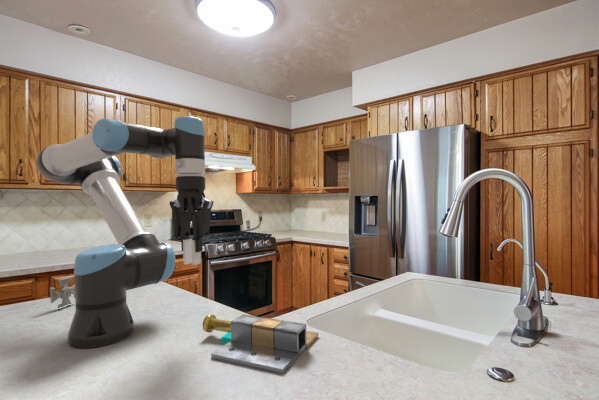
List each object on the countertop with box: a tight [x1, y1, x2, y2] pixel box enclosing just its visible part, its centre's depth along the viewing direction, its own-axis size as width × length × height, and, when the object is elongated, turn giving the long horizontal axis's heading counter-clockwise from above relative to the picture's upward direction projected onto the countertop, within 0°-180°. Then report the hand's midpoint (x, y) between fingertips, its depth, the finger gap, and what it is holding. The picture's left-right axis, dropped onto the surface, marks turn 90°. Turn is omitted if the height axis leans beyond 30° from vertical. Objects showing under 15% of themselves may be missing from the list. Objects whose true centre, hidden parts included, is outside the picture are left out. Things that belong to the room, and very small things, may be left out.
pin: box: [202, 313, 232, 334], centre depth 85 cm, size 20×4×4 cm, turn 66°
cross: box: [49, 275, 75, 308], centre depth 114 cm, size 10×3×10 cm, turn 166°
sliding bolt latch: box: [210, 314, 319, 375], centre depth 82 cm, size 18×20×6 cm
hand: (192, 263), depth 91 cm, fingers open, 2 cm apart
